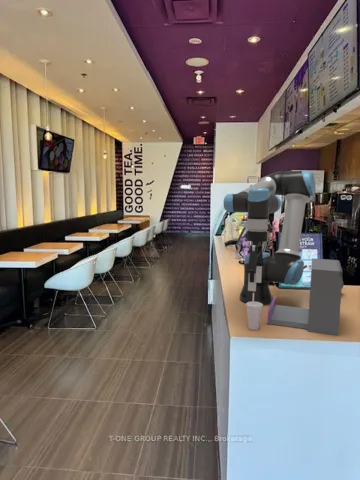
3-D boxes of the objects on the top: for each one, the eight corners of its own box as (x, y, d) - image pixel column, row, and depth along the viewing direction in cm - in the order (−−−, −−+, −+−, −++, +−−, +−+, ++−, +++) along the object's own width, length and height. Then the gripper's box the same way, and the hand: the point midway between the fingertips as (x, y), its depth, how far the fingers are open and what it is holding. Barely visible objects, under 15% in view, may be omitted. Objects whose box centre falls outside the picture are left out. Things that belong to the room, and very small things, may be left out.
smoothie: (243, 325, 137) (244, 290, 135) (259, 324, 137) (260, 290, 136) (247, 331, 131) (249, 295, 129) (264, 331, 131) (265, 295, 129)
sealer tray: (267, 323, 138) (268, 310, 137) (273, 308, 156) (273, 296, 156) (309, 329, 132) (310, 315, 132) (310, 313, 151) (310, 300, 150)
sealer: (307, 331, 131) (311, 269, 128) (308, 312, 152) (312, 258, 149) (338, 335, 127) (342, 271, 124) (334, 315, 149) (338, 260, 146)
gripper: (262, 234, 116) (260, 296, 119) (271, 228, 139) (269, 280, 142) (240, 232, 119) (238, 293, 121) (252, 227, 142) (250, 278, 144)
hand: (254, 286), depth 132 cm, fingers open, 13 cm apart
